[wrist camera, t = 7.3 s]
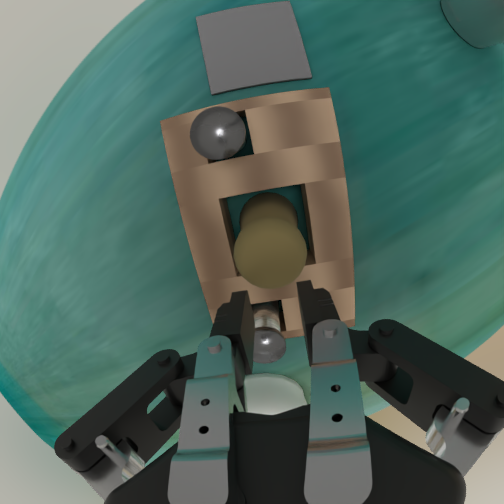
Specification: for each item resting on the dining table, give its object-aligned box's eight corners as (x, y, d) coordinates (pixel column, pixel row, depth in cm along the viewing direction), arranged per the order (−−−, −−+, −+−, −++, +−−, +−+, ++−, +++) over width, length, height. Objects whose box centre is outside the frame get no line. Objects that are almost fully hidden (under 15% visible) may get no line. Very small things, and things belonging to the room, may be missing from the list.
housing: (320, 96, 23) (328, 87, 20) (346, 306, 31) (354, 325, 28) (173, 124, 25) (160, 120, 21) (225, 325, 33) (220, 346, 29)
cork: (297, 247, 29) (314, 300, 19) (241, 249, 29) (228, 303, 19) (297, 191, 27) (317, 216, 17) (237, 193, 27) (220, 219, 17)
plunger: (246, 116, 24) (239, 100, 16) (254, 153, 25) (249, 153, 18) (208, 124, 24) (185, 114, 17) (215, 161, 26) (196, 165, 18)
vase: (328, 380, 36) (351, 501, 17) (285, 428, 41) (287, 526, 22) (237, 355, 35) (219, 494, 16) (208, 408, 40) (187, 513, 21)
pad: (289, 3, 19) (289, 0, 19) (311, 78, 23) (312, 77, 22) (197, 19, 20) (195, 17, 20) (212, 95, 24) (211, 94, 23)
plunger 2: (279, 285, 30) (282, 328, 22) (283, 313, 31) (288, 360, 24) (245, 290, 30) (238, 334, 23) (251, 318, 32) (247, 365, 24)
